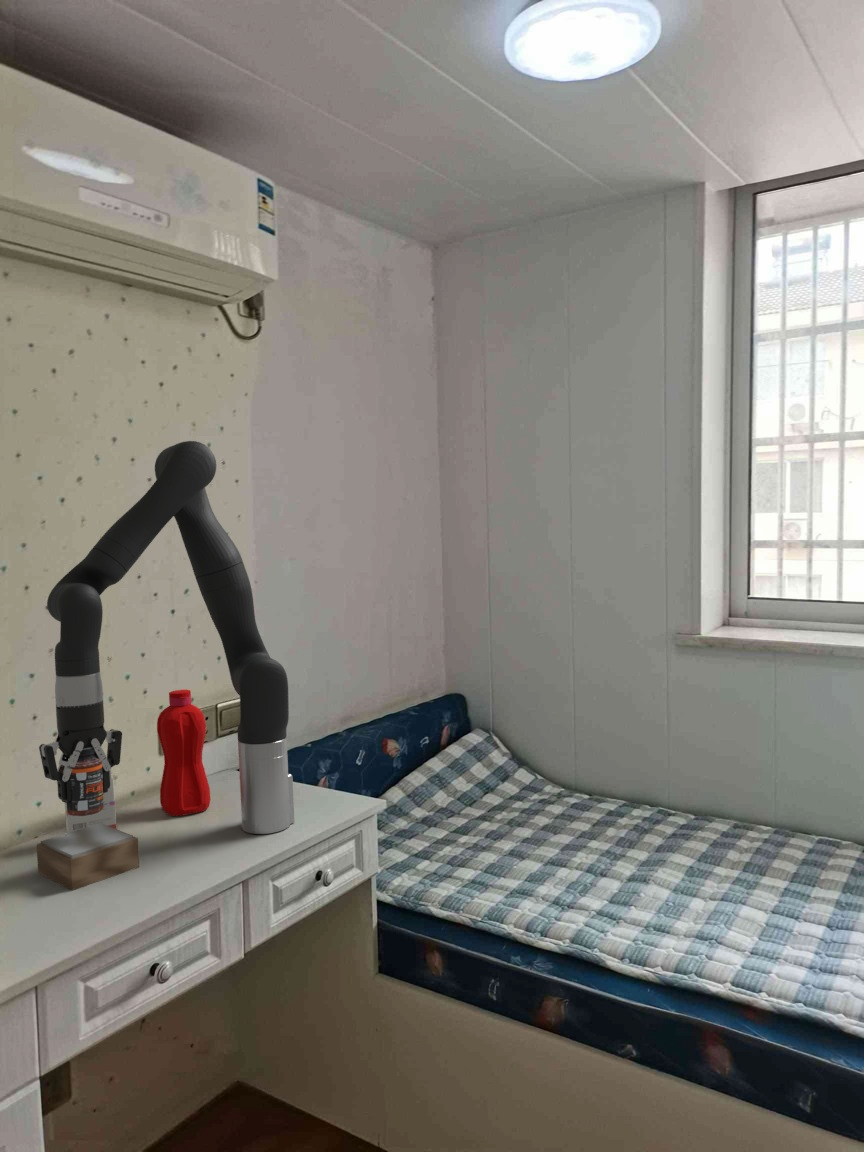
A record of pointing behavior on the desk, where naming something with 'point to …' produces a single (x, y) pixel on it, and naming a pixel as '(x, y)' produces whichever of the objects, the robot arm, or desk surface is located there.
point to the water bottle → (183, 756)
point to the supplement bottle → (86, 785)
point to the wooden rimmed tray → (87, 855)
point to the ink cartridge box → (103, 817)
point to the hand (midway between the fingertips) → (84, 796)
